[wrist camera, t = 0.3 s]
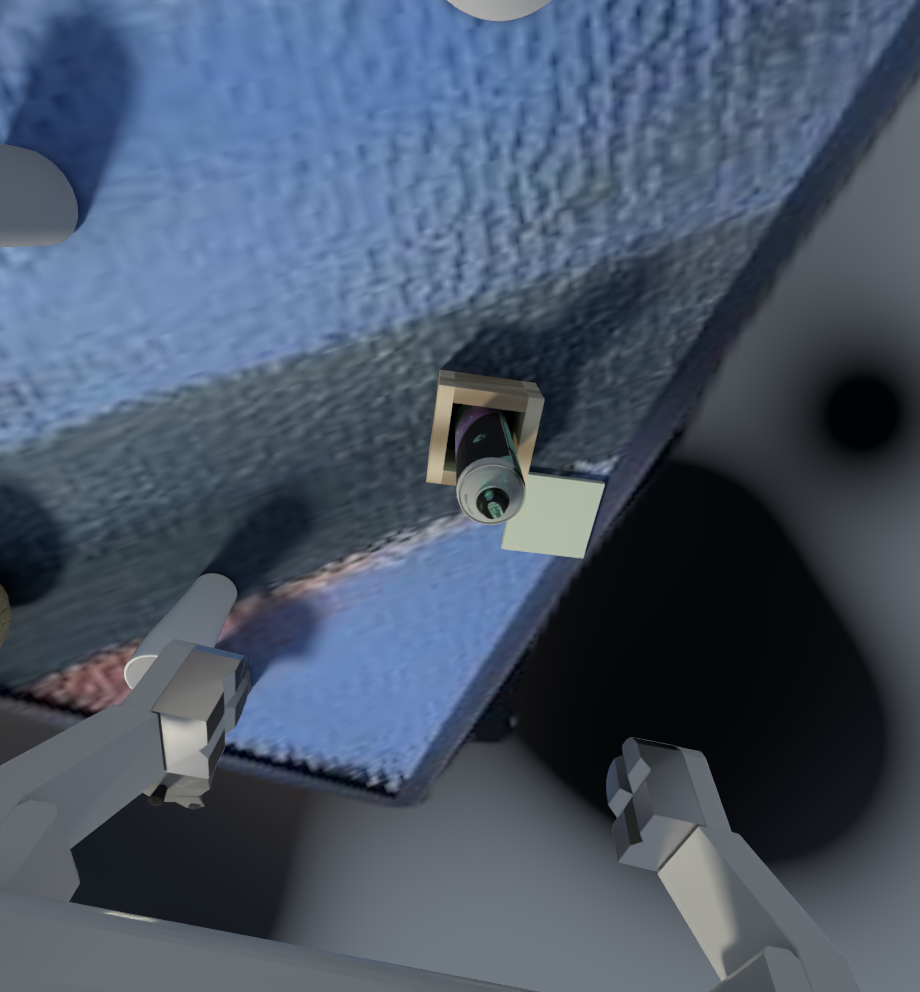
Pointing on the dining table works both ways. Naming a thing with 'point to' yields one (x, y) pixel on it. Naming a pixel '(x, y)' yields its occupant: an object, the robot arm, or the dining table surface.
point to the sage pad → (554, 516)
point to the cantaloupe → (4, 614)
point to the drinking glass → (186, 622)
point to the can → (34, 200)
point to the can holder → (484, 394)
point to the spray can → (487, 466)
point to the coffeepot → (182, 784)
